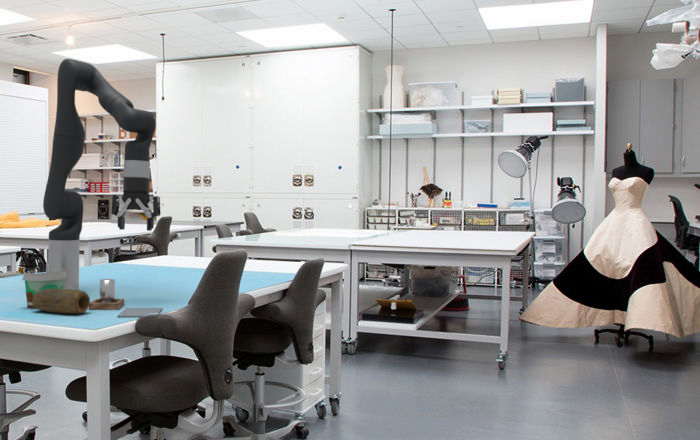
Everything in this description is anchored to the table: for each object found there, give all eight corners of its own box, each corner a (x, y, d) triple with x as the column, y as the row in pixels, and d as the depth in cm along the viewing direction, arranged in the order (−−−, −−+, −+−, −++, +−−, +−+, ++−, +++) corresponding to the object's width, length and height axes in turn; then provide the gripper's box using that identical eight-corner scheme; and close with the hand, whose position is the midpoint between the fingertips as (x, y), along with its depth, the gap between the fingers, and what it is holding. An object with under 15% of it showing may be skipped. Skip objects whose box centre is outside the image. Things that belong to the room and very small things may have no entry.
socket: (88, 309, 172) (88, 303, 172) (95, 304, 180) (96, 298, 180) (118, 309, 174) (118, 303, 173) (124, 304, 181) (124, 298, 181)
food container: (34, 310, 169) (35, 274, 168) (22, 308, 172) (22, 272, 171) (75, 305, 179) (75, 271, 179) (62, 302, 182) (63, 269, 182)
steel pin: (97, 308, 175) (98, 280, 174) (101, 306, 179) (101, 278, 178) (112, 308, 175) (113, 280, 175) (115, 306, 179) (116, 278, 179)
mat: (117, 317, 163) (117, 315, 163) (126, 309, 175) (126, 307, 175) (156, 317, 165) (156, 315, 165) (162, 309, 176) (162, 307, 176)
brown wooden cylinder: (93, 312, 169) (93, 288, 169) (77, 317, 162) (77, 292, 162) (45, 308, 172) (46, 285, 172) (28, 313, 165) (28, 288, 165)
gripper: (107, 175, 180) (106, 229, 181) (154, 176, 179) (153, 231, 180) (119, 176, 188) (118, 228, 188) (164, 177, 187) (163, 230, 187)
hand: (135, 230), depth 184 cm, fingers open, 8 cm apart
